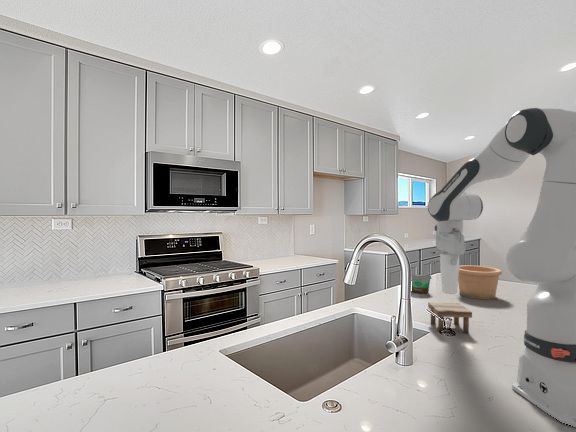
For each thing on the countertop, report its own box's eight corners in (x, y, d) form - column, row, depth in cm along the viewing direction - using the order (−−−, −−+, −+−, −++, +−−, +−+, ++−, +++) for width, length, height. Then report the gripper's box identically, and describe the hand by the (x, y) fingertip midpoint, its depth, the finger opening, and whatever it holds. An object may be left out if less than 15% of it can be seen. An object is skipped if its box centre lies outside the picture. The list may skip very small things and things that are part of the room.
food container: (408, 293, 182) (408, 275, 182) (407, 290, 188) (407, 273, 188) (432, 295, 179) (432, 276, 178) (431, 292, 184) (431, 274, 184)
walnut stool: (471, 333, 123) (472, 312, 123) (438, 332, 125) (438, 311, 125) (458, 322, 135) (458, 303, 135) (428, 321, 137) (428, 302, 136)
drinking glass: (461, 295, 125) (461, 255, 125) (442, 294, 127) (442, 254, 127) (456, 291, 132) (456, 253, 132) (438, 290, 133) (438, 252, 133)
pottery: (447, 295, 179) (447, 268, 179) (463, 288, 194) (463, 263, 193) (493, 303, 163) (493, 274, 163) (506, 295, 178) (506, 268, 177)
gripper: (470, 229, 118) (469, 268, 119) (448, 226, 139) (448, 259, 139) (451, 229, 119) (451, 268, 119) (432, 226, 139) (432, 259, 140)
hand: (449, 263), depth 129 cm, fingers closed on drinking glass, 7 cm apart
